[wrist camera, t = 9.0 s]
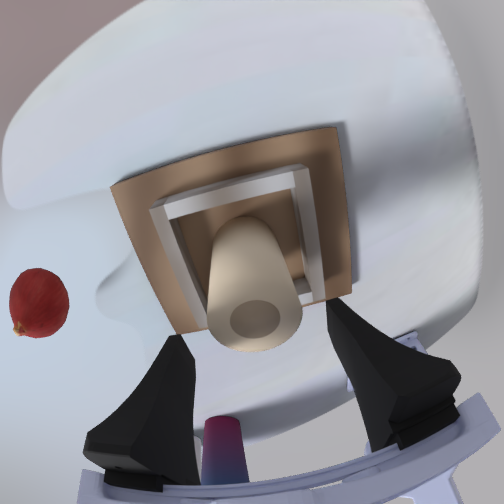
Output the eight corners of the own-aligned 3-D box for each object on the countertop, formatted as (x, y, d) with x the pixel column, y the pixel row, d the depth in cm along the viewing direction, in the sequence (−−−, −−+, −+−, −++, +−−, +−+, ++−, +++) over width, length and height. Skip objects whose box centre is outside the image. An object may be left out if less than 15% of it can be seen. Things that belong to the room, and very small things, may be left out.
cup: (200, 410, 32) (201, 512, 18) (250, 414, 33) (262, 512, 20) (196, 430, 35) (197, 517, 21) (240, 433, 36) (248, 517, 23)
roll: (270, 210, 19) (297, 270, 12) (280, 266, 21) (306, 342, 14) (205, 224, 19) (193, 292, 12) (221, 279, 21) (221, 359, 14)
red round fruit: (75, 313, 23) (44, 372, 16) (31, 285, 21) (-8, 336, 14) (88, 272, 21) (48, 334, 14) (39, 240, 19) (-11, 290, 12)
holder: (331, 126, 17) (348, 129, 15) (347, 286, 24) (360, 306, 21) (114, 183, 18) (98, 195, 15) (178, 327, 24) (174, 351, 22)
